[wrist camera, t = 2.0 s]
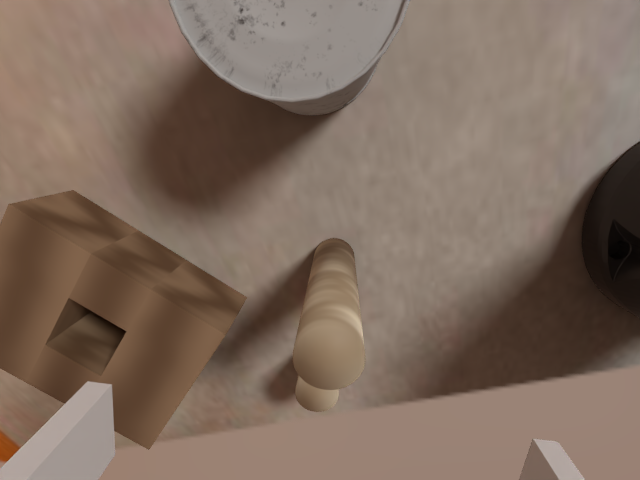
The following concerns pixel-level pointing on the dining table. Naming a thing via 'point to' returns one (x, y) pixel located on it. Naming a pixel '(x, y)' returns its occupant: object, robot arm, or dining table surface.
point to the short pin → (315, 396)
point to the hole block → (105, 310)
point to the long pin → (330, 321)
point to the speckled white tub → (292, 46)
